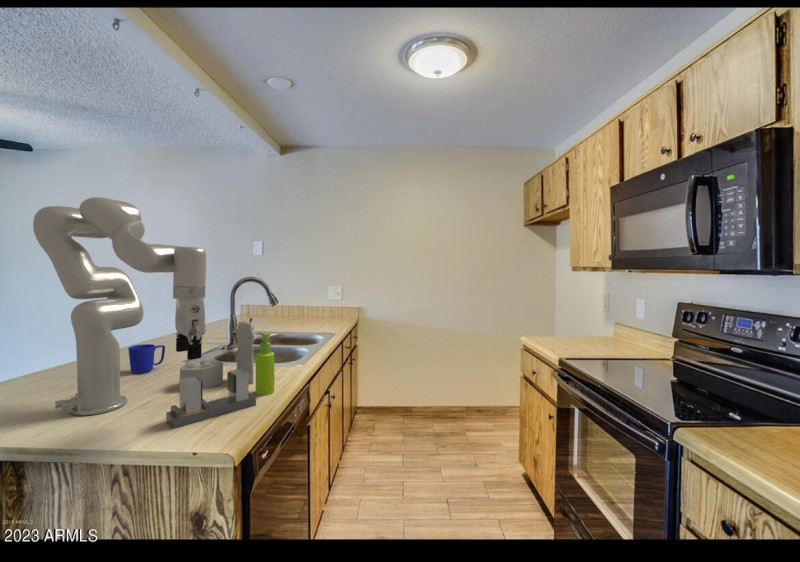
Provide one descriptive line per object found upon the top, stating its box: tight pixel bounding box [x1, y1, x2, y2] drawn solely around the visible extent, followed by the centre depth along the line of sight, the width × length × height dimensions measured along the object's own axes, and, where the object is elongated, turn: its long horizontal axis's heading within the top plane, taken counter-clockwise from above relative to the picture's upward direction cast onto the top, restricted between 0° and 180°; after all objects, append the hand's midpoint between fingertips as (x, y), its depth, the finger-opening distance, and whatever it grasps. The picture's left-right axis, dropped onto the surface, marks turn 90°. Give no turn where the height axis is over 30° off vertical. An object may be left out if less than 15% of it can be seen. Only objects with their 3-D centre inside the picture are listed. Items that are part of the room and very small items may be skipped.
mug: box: [127, 343, 166, 375], centre depth 137 cm, size 8×12×10 cm
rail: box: [165, 368, 257, 430], centre depth 101 cm, size 22×6×10 cm, turn 137°
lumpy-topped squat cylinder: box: [179, 357, 224, 390], centre depth 124 cm, size 10×13×9 cm
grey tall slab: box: [235, 320, 255, 385], centre depth 128 cm, size 11×4×22 cm, turn 55°
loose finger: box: [179, 377, 203, 414], centre depth 97 cm, size 4×6×8 cm
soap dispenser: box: [255, 331, 275, 396], centre depth 118 cm, size 6×7×20 cm
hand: (188, 354), depth 96 cm, fingers open, 9 cm apart
